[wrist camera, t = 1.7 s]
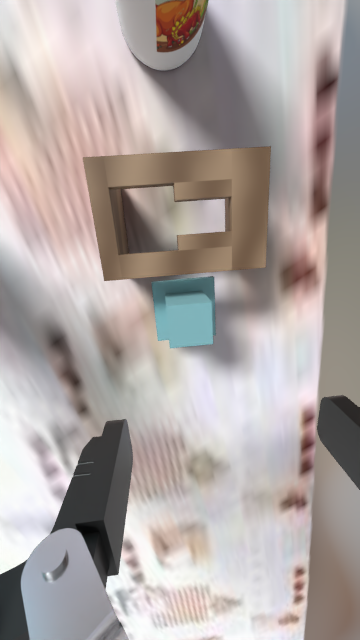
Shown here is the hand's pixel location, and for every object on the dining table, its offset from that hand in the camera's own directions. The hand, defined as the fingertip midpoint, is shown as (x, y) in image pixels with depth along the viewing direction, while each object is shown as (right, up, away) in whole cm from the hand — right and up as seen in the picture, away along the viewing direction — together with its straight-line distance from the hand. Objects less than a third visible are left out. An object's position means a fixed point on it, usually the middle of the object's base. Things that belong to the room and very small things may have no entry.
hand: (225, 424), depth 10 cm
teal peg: (-2, +7, +21) cm, 22 cm away
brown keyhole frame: (-2, +15, +18) cm, 24 cm away
